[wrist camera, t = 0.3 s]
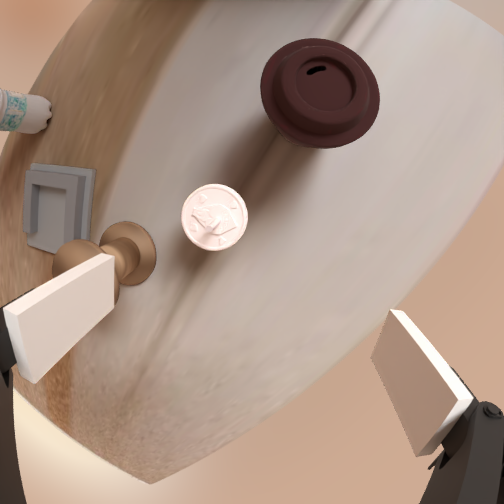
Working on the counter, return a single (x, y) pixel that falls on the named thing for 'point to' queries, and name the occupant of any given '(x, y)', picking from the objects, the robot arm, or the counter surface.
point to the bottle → (23, 112)
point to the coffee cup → (319, 93)
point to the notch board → (57, 205)
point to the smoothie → (214, 217)
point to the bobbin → (113, 254)
